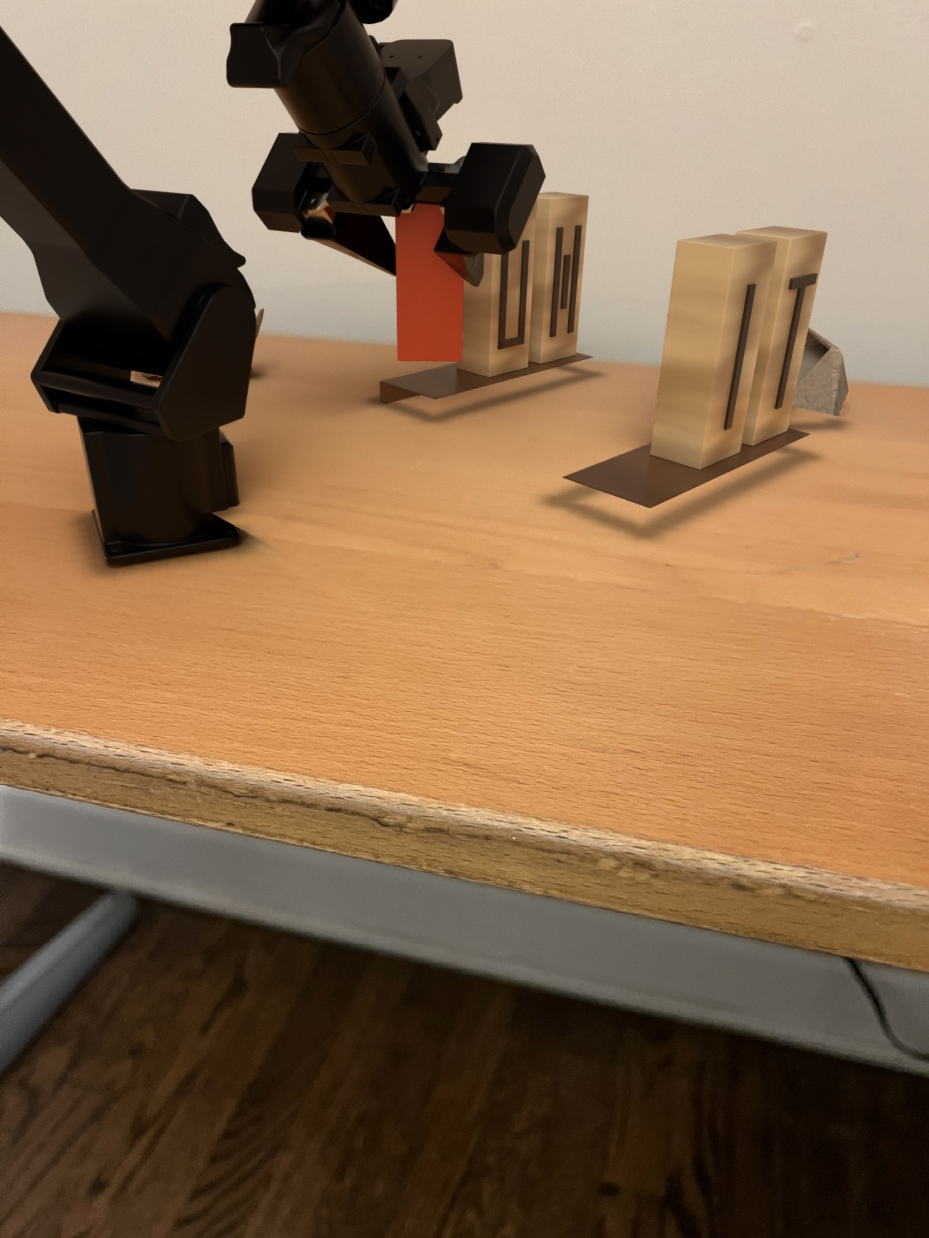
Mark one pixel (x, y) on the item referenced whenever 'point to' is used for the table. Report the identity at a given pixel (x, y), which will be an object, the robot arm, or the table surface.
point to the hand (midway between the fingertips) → (438, 276)
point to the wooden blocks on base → (516, 307)
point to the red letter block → (426, 291)
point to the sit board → (723, 362)
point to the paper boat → (821, 376)
